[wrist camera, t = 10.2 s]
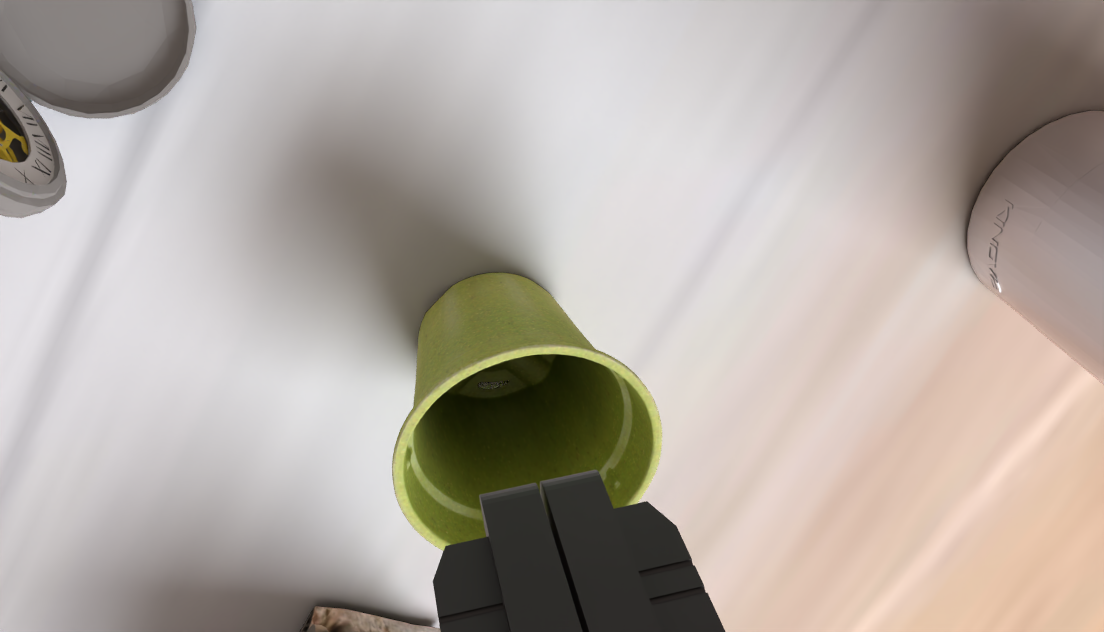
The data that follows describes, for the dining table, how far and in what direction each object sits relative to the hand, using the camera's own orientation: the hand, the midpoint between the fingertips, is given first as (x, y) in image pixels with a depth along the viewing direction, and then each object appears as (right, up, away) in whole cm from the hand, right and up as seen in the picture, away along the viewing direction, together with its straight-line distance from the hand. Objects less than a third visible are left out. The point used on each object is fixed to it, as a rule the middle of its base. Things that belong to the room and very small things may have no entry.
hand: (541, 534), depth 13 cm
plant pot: (-2, +2, +29) cm, 29 cm away
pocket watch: (-16, +12, +20) cm, 28 cm away
